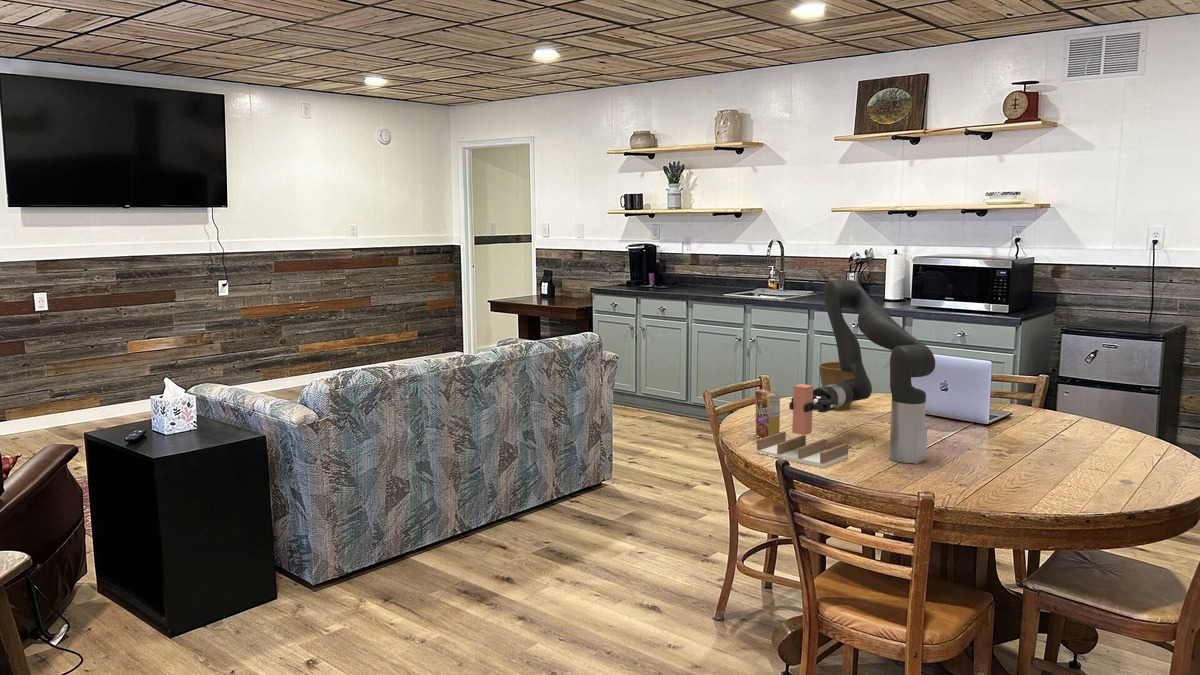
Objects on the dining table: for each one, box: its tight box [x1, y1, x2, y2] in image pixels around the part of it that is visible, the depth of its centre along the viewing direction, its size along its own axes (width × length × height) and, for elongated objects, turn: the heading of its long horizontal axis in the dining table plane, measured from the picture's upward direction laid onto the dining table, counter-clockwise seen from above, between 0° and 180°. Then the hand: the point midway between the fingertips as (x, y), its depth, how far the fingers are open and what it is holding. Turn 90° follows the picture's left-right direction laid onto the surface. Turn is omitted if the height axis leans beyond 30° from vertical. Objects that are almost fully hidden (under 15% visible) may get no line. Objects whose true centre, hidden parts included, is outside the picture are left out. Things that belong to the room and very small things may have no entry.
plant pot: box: [818, 361, 855, 411], centre depth 319 cm, size 15×15×16 cm
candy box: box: [755, 388, 781, 439], centre depth 275 cm, size 9×4×15 cm, turn 17°
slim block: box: [792, 383, 814, 436], centre depth 256 cm, size 4×4×14 cm
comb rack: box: [756, 430, 849, 469], centre depth 257 cm, size 22×14×4 cm, turn 46°
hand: (797, 407), depth 254 cm, fingers closed on slim block, 4 cm apart
